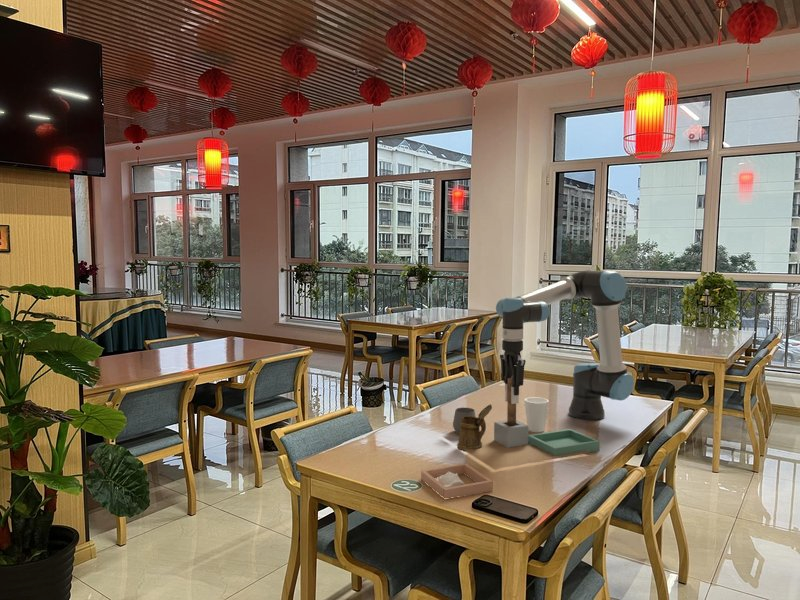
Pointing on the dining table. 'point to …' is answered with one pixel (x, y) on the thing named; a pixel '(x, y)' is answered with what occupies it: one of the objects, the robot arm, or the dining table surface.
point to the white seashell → (450, 480)
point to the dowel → (510, 407)
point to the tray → (564, 442)
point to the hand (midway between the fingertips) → (511, 402)
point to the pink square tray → (479, 487)
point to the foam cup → (536, 413)
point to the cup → (458, 417)
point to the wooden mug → (472, 430)
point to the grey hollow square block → (511, 434)
